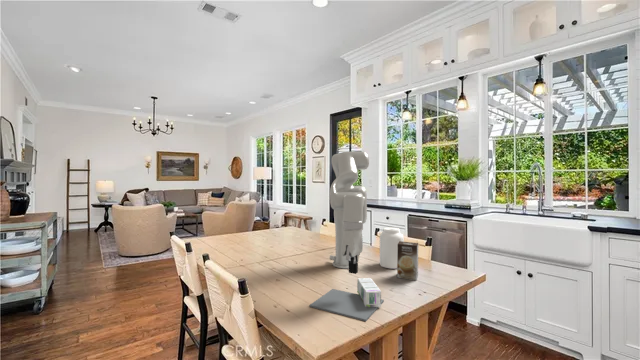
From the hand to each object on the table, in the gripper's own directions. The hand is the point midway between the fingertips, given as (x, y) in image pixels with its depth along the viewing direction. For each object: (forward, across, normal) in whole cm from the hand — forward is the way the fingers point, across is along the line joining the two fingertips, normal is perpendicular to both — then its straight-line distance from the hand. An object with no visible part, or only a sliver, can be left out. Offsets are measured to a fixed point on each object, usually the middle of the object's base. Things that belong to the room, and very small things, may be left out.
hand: (353, 272), depth 115 cm
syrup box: (+7, -8, +2) cm, 10 cm away
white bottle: (+10, -50, 0) cm, 51 cm away
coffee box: (+10, -36, +12) cm, 39 cm away
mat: (+10, +5, 0) cm, 11 cm away
